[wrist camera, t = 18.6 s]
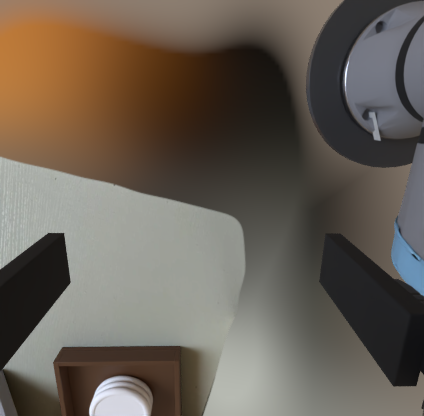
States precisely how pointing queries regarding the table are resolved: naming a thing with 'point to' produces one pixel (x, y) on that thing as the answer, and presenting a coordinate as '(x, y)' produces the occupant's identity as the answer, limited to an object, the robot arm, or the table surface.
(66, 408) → the holder
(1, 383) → the shield
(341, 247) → the robot arm
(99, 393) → the coaster
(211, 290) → the table surface
